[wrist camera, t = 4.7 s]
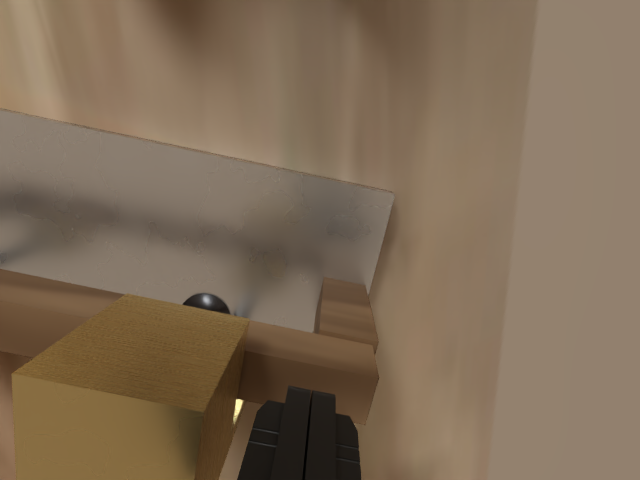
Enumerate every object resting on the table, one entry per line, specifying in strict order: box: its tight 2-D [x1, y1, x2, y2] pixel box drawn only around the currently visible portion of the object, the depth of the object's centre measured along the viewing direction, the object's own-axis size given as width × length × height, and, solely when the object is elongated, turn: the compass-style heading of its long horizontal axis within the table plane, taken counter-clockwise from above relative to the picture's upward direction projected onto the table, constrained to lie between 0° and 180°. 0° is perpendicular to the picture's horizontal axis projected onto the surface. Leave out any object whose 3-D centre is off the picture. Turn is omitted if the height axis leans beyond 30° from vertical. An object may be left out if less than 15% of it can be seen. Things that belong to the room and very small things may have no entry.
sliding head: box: [12, 293, 250, 480], centre depth 13 cm, size 6×4×12 cm
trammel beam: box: [0, 269, 379, 425], centre depth 15 cm, size 5×27×8 cm, turn 78°
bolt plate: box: [0, 108, 395, 333], centre depth 20 cm, size 14×28×1 cm, turn 78°
